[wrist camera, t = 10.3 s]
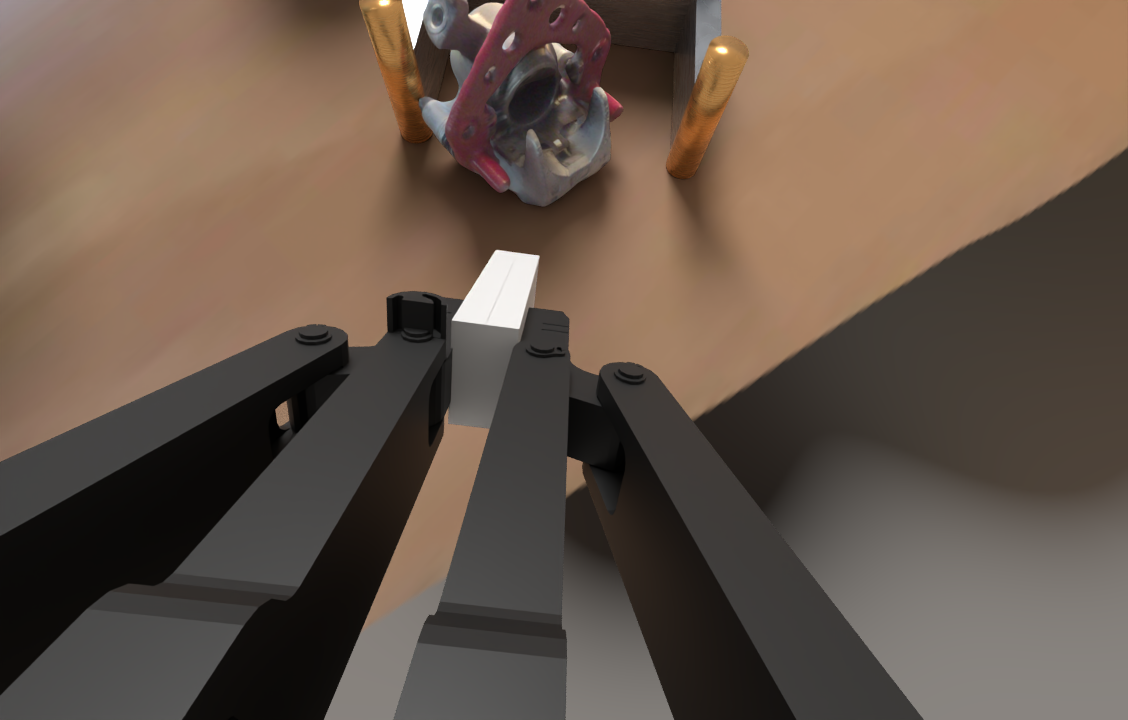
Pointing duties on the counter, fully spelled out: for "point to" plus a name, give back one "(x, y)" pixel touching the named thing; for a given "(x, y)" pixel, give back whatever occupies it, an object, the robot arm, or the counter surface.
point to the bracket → (625, 3)
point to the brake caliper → (523, 93)
